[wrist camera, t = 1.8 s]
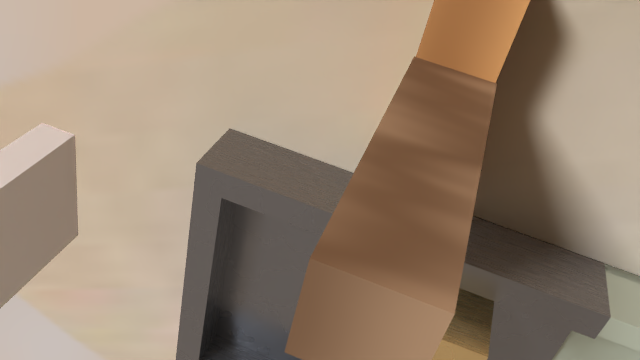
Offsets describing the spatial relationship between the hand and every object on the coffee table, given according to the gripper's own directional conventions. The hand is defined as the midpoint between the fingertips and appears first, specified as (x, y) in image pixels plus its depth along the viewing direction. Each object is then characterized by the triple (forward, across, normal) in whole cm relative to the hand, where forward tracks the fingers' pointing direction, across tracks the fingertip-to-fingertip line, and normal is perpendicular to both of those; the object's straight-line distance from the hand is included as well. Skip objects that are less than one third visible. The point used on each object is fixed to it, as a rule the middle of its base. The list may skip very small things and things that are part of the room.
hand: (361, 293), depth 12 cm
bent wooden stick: (+12, 0, 0) cm, 12 cm away
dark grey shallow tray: (+12, 0, -12) cm, 17 cm away
